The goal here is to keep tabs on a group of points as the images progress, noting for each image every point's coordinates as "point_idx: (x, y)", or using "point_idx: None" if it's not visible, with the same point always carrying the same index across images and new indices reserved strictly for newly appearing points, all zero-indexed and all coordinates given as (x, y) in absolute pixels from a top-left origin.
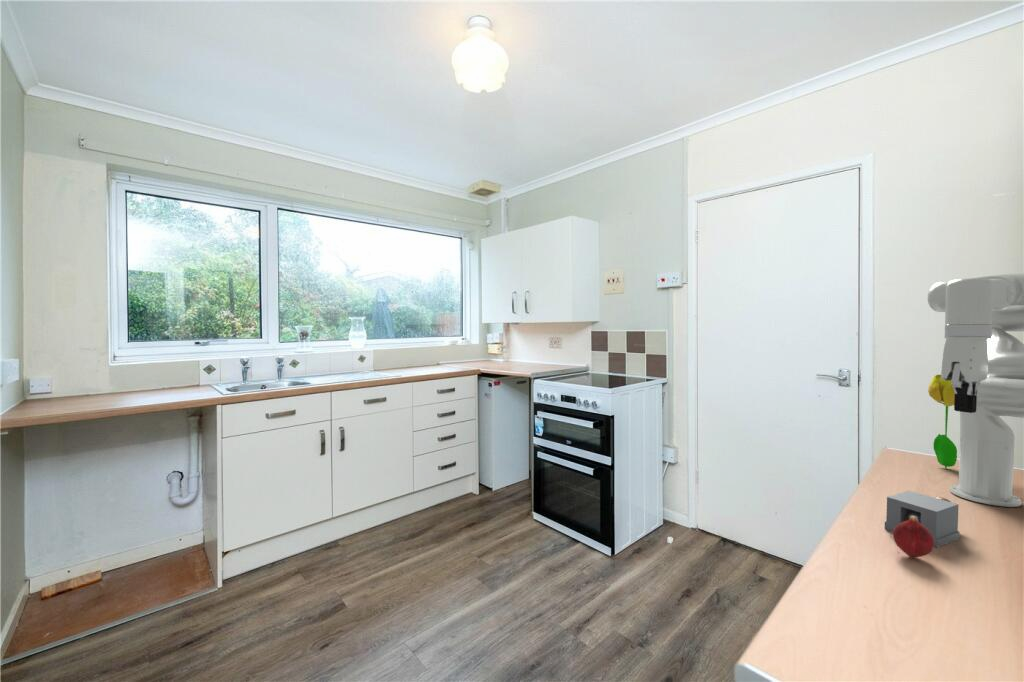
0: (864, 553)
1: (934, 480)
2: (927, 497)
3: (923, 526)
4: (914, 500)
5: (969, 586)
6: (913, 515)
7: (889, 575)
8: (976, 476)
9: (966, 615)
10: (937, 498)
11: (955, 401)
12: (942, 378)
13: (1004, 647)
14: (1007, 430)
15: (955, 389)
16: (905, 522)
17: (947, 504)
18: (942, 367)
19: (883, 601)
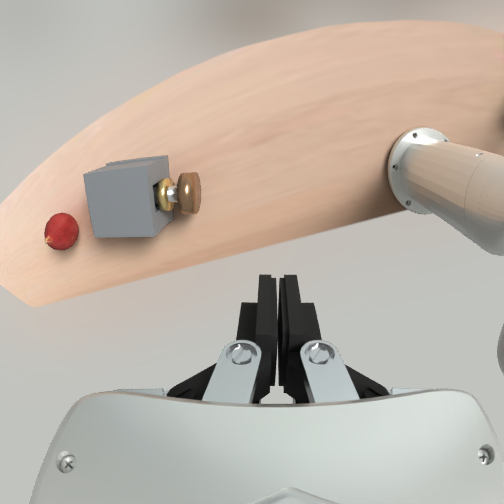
0: (43, 199)
1: (452, 98)
2: (140, 199)
3: (55, 246)
4: (106, 199)
5: (76, 269)
6: None
7: (36, 233)
8: (418, 175)
9: (45, 282)
10: (178, 195)
11: (257, 305)
12: (83, 397)
13: (41, 301)
14: (496, 254)
15: (193, 376)
16: (45, 233)
17: (137, 230)
18: (38, 476)
19: (15, 250)
